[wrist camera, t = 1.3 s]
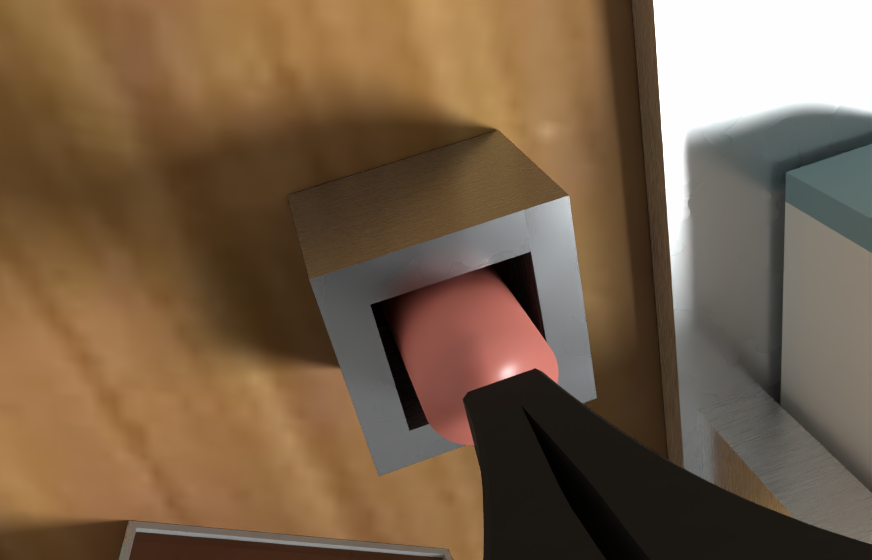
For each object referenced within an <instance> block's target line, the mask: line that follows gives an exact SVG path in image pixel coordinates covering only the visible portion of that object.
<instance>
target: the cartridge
mask: <svg viewBox="0 0 872 560" xmlns="http://www.w3.org/2000/svg"><path fill="white" fill-rule="evenodd" d="M780 406H781V407H782V408H783V409H784V410H785V411H786V412H787V413H788V414H789V415H790V416H791V417H793V418H794V419H795V420H796V421H797V422H798V423H799V424H800V425H801V426H802V427H803V428H804V429H805V430H806V431H807V432H808V433H809V434H810V435H811V436H812V437H814V438H815V439H816V440H817V441H818V442H819V443H820V444H821V445H822V446H823V447H824V448H825V449H826V450H827V451H828V452H829V453H830V454H831V455H832V456H833V457H835V458H836V459H837V460H838V461H839V462H840V463H841V464H842V465H843V466H844V467H845V468H846V469H847V470H848V471H849V472H850V473H851V474H852V475H853V476H854V477H856V478H857V479H858V480H859V481H860V482H861V483H862V484H863V485H864V486H865V487H866V488H867V489H868V490H869V491H870V492H871V493H872V144H870V145H867V146H864V147H861V148H858V149H855V150H852V151H849V152H846V153H843V154H840V155H837V156H833V157H830V158H827V159H824V160H821V161H818V162H815V163H812V164H809V165H806V166H803V167H800V168H797V169H794V170H791V171H788V172H786V192H785V234H784V277H783V319H782V361H781V404H780Z"/></svg>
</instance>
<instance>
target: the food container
mask: <svg viewBox="0 0 872 560" xmlns="http://www.w3.org/2000/svg"><path fill="white" fill-rule="evenodd" d="M119 560H453V558H452V556H451V554H450V552H449V550H448V549H441V548H430V547H419V546H408V545H397V544H385V543H374V542H363V541H352V540H341V539H330V538H319V537H308V536H297V535H286V534H275V533H263V532H252V531H241V530H230V529H219V528H208V527H197V526H186V525H175V524H164V523H152V522H141V521H130V520H129V521H128V525H127V529H126V533H125V537H124V541H123V544H122V548H121V552H120V556H119Z"/></svg>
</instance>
